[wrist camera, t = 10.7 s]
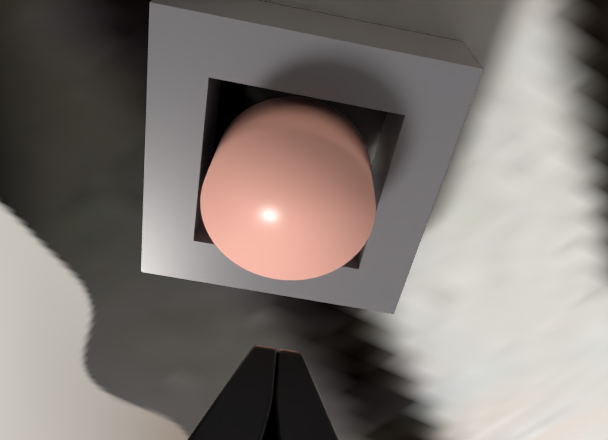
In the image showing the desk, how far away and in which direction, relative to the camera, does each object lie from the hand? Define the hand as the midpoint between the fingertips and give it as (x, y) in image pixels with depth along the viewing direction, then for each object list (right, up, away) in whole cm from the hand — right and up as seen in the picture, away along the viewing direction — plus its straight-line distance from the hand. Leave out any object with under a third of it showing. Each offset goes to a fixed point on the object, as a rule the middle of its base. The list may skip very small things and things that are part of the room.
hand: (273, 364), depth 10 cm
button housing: (0, +5, +8) cm, 9 cm away
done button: (0, +4, +6) cm, 7 cm away
